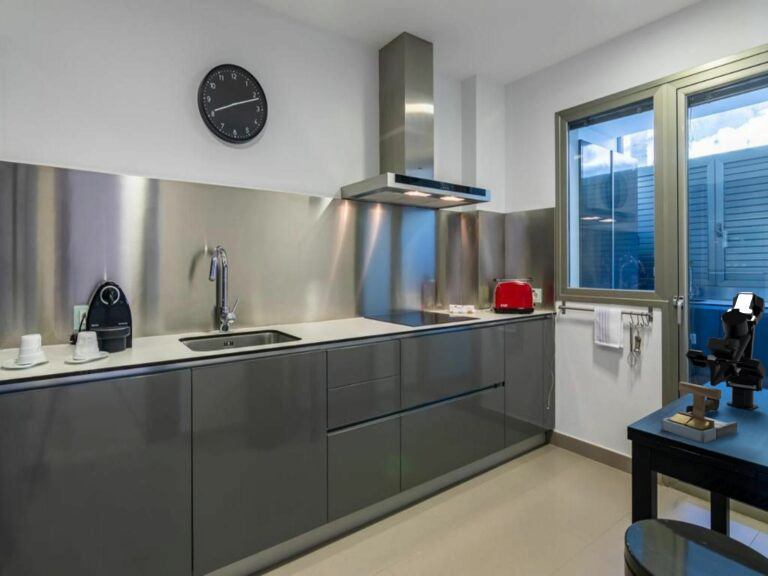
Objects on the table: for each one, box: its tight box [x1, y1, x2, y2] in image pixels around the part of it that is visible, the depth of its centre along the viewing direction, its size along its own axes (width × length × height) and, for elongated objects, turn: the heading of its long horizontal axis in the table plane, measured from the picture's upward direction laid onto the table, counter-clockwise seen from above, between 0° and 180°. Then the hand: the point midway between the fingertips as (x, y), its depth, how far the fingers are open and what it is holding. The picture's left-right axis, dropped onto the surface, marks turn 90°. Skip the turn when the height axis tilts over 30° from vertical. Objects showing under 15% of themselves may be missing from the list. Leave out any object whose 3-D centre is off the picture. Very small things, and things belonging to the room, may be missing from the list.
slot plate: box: [687, 411, 738, 440], centre depth 122 cm, size 10×11×3 cm
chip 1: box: [669, 412, 692, 426], centre depth 121 cm, size 4×4×3 cm
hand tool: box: [685, 397, 721, 414], centre depth 134 cm, size 19×4×5 cm, turn 120°
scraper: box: [677, 381, 722, 429], centre depth 120 cm, size 3×10×11 cm, turn 26°
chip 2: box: [686, 418, 711, 431], centre depth 117 cm, size 4×4×3 cm
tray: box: [660, 416, 717, 444], centre depth 119 cm, size 6×11×3 cm, turn 25°
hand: (712, 385), depth 124 cm, fingers closed
